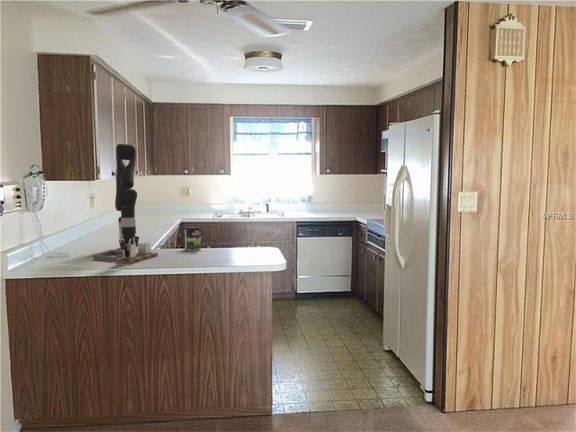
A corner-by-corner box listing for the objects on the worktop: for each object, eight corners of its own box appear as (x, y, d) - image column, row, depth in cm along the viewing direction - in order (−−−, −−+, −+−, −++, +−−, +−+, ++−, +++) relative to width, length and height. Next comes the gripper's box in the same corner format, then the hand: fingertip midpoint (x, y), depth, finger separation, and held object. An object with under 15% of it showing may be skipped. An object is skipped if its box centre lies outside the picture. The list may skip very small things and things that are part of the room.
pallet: (142, 256, 278) (142, 251, 278) (157, 257, 274) (157, 252, 274) (116, 264, 258) (115, 258, 258) (132, 265, 254) (131, 260, 254)
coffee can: (204, 248, 300) (204, 226, 299) (191, 251, 293) (190, 228, 291) (195, 246, 307) (194, 225, 306) (181, 249, 300) (181, 227, 298)
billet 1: (128, 257, 263) (127, 243, 262) (136, 258, 261) (135, 243, 260) (123, 259, 260) (122, 244, 259) (131, 259, 258) (130, 244, 257)
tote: (113, 255, 280) (112, 250, 280) (134, 257, 274) (133, 251, 274) (93, 261, 266) (92, 255, 265) (115, 263, 260) (114, 257, 259)
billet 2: (142, 255, 274) (142, 242, 273) (150, 256, 272) (149, 242, 271) (138, 257, 271) (137, 243, 270) (146, 257, 269) (145, 243, 268)
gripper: (124, 227, 250) (126, 259, 252) (142, 224, 263) (143, 254, 265) (113, 226, 253) (115, 258, 255) (131, 223, 266) (133, 253, 268)
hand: (130, 256), depth 260 cm, fingers closed on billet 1, 4 cm apart
